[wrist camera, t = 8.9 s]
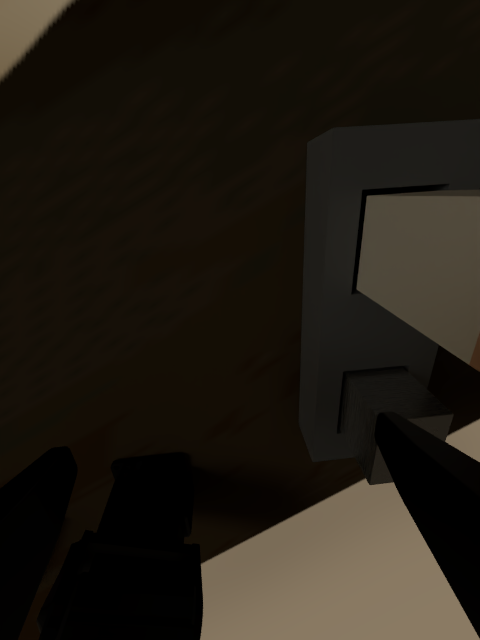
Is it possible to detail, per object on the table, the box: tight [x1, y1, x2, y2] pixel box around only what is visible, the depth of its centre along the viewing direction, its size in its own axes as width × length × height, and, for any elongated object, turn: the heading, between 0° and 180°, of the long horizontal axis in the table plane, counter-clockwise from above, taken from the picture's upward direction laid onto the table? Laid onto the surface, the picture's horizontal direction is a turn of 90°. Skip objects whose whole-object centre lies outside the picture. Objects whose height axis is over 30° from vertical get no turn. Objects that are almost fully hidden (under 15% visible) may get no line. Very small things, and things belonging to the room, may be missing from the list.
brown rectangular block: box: [356, 190, 480, 372], centre depth 11 cm, size 4×5×9 cm
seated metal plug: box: [337, 366, 454, 485], centre depth 20 cm, size 4×5×8 cm
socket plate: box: [299, 119, 480, 462], centre depth 19 cm, size 8×22×4 cm, turn 4°
